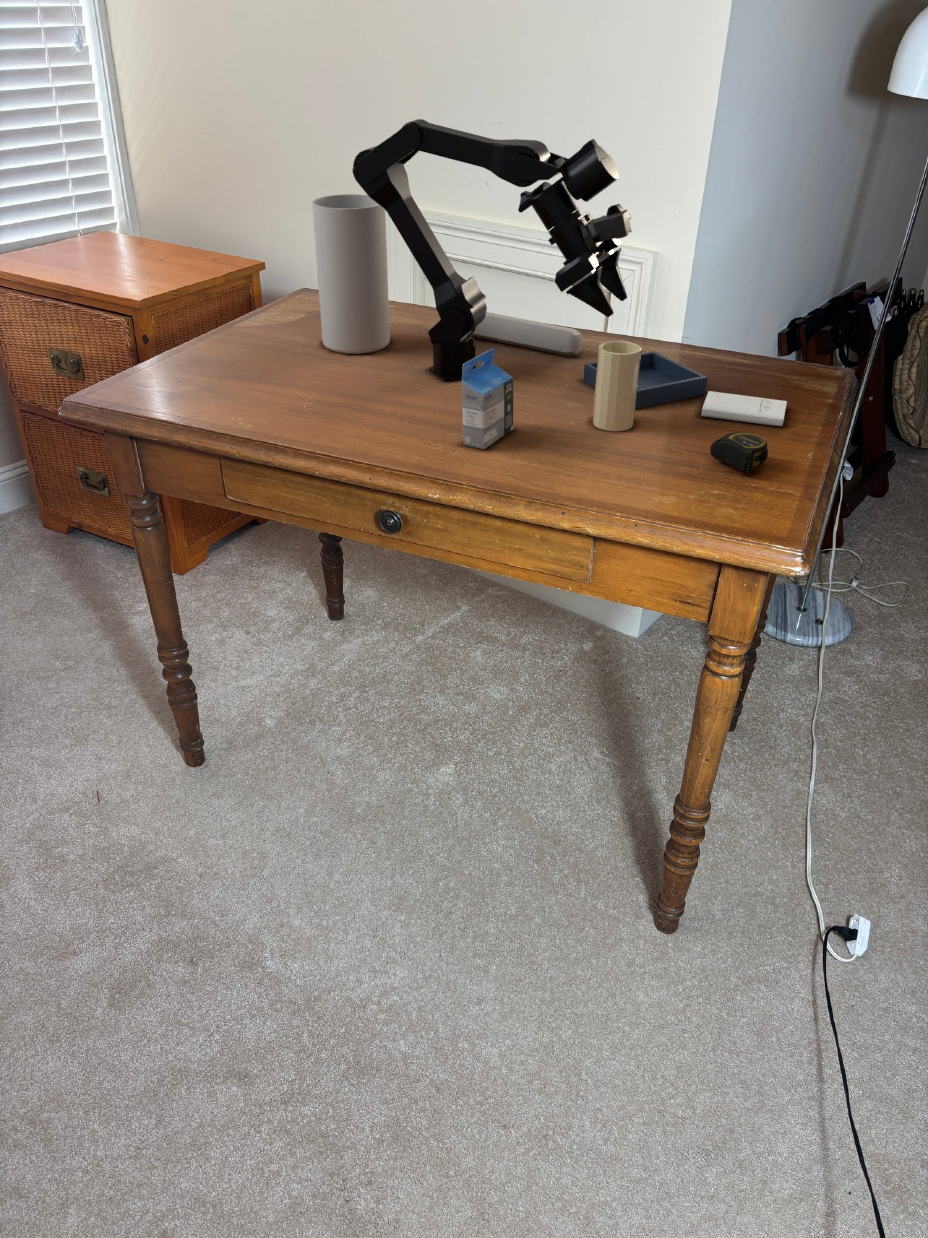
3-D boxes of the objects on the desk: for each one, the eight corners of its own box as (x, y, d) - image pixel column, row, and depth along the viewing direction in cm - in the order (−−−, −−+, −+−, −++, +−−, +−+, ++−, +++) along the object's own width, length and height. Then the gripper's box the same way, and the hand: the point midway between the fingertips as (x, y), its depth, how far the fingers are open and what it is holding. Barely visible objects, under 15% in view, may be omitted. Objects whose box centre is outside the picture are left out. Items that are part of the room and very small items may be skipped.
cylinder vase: (387, 355, 178) (381, 209, 164) (318, 354, 178) (307, 208, 164) (392, 333, 189) (387, 194, 175) (327, 333, 189) (317, 193, 175)
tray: (633, 409, 157) (635, 391, 156) (583, 380, 168) (584, 363, 166) (705, 394, 163) (707, 376, 161) (652, 367, 174) (654, 350, 172)
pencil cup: (607, 434, 149) (615, 356, 142) (585, 419, 154) (591, 344, 147) (641, 426, 152) (649, 350, 145) (617, 413, 156) (625, 338, 149)
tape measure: (705, 461, 141) (709, 437, 139) (738, 450, 144) (742, 426, 142) (741, 478, 136) (745, 453, 134) (774, 466, 140) (779, 442, 138)
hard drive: (707, 399, 161) (785, 408, 158) (700, 417, 155) (782, 427, 151) (708, 389, 160) (787, 399, 157) (702, 407, 154) (784, 417, 151)
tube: (589, 330, 178) (471, 307, 189) (578, 328, 174) (457, 304, 184) (583, 360, 180) (466, 335, 191) (571, 358, 175) (452, 333, 186)
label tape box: (484, 450, 144) (485, 368, 137) (460, 444, 146) (461, 363, 139) (514, 430, 150) (516, 351, 143) (491, 424, 152) (492, 346, 145)
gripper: (590, 199, 139) (648, 294, 143) (621, 177, 153) (673, 264, 157) (529, 244, 145) (586, 334, 149) (564, 219, 160) (615, 302, 164)
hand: (618, 307), depth 155 cm, fingers open, 9 cm apart
